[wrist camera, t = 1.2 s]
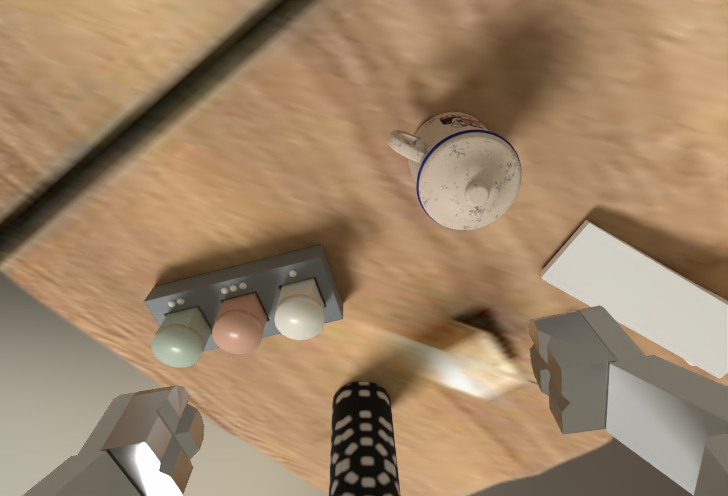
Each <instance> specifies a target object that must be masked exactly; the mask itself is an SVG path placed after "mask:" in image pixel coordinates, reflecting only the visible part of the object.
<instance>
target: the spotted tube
mask: <svg viewBox="0 0 728 496" xmlns="http://www.w3.org/2000/svg"><path fill="white" fill-rule="evenodd" d="M329 496H400V487H399V478H398V468H397V459H396V450H395V440H394V431H393V422H392V413H391V403H390V397H389V395H388V393H387V391H386V390H385V389H384V388H382V387H381V386H379V385H377V384H374V383H371V382H354V383H350V384H347V385H345V386H344V387H342V388H341V389H339V390H338V391H337V392H336V394H335V396H334V398H333V406H332V432H331V458H330V485H329Z"/></svg>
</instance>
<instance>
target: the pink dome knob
mask: <svg viewBox="0 0 728 496" xmlns="http://www.w3.org/2000/svg"><path fill="white" fill-rule="evenodd" d="M215 321H216V322H215V325H214V327H213V330H212V336H213V339H214V341H215V343H216V344H217V345H218V346H219V347H220V348H222V349H223V350H225V351H227V352H230V353H234V354H245V353H249V352H251V351H253V350H255V349H256V348H257V347H258V346H259V344H260V342H261V339H262V336H263V332H264V328H265V325H266V321H267V314H266V312H265V310H264V308H263V306H262V304H261V302H260V300H259V298H258V296H257V294H256V291H255V292H251V293H247V294H243V295H238V296H234V297H230V298H226V299H224V301H223V304H222V306H221V308H220V311H219V313H218V315H217V318H216V320H215Z"/></svg>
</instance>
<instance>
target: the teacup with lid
mask: <svg viewBox="0 0 728 496" xmlns="http://www.w3.org/2000/svg"><path fill="white" fill-rule="evenodd" d="M388 144H389V145H390V147H391V148H392V149H394V150H395V151H396V152H398V153H400V154H401V155H403V156H405V157H407V158H408V162H409V167H410V170H411V173H412V176H413V178H414V181H415V183H416V186H417V195H418V199H419V201H420V204H421V206H422V208H423V209H424V211H425V212H426V213H427V215H428V216H429V217H430V218H432V219H433V220H434V221H436V222H437V223H439V224H441V225H443V226H446V227H448V228H452V229H458V230H469V229H475V228H479V227H482V226H485V225H487V224H489V223H491V222H493V221H495V220H496V219H498V218H499V217H500V216H502V215H503V214H504V213H505V212H506V211H507V210H508V208H509V207H510V206H511V205H512V203H513V201H514V200H515V198H516V196H517V194H518V191H519V188H520V184H521V164H520V160H519V157H518V155H517V153H516V151H515V150H514V148H513V147H512V146H511V144H510V143H509V142H508V141H507V140H505V139H504V138H503V137H501V136H499V135H498V134H495V133H493V132H491V131H490V130H489V129H488V128H487V127H486V126H485V125H483V124H482V123H481V122H480V121H479V120H477V119H476V118H474V117H473V116H471V115H468V114H465V113H460V112H448V113H443V114H440V115H437V116H435V117H433V118H431V119H430V120H428V121H427V122H425V123H424V124H423V125H422V126H421V127H420V128H419V129H418V131H417V132H416V133H415V135H412V134H409V133H407V132H404V131H400V130H395V131H392V132H391V133H390V135H389V137H388Z"/></svg>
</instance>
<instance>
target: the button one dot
mask: <svg viewBox="0 0 728 496" xmlns="http://www.w3.org/2000/svg"><path fill="white" fill-rule="evenodd" d="M324 314H325V313H324V301H323V299H322V296H321V294H320V291H319V289H318V286H317V283H316V281H315V278H314V277H312V278H308V279H304V280H300V281H296V282H292V283H288V284H284V285H282V288H281V292H280V296H279V300H278V305H277V309H276V313H275V319H274V320H275V325H276V327H277V329H278V330H279V332H280V333H282V334H283V335H284V336H286V337H288V338H291V339H295V340H306V339H310V338H312V337H314V336H316V335H317V334H318V333H319V332H320V331H321V330H322V328H323V325H324Z"/></svg>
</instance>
